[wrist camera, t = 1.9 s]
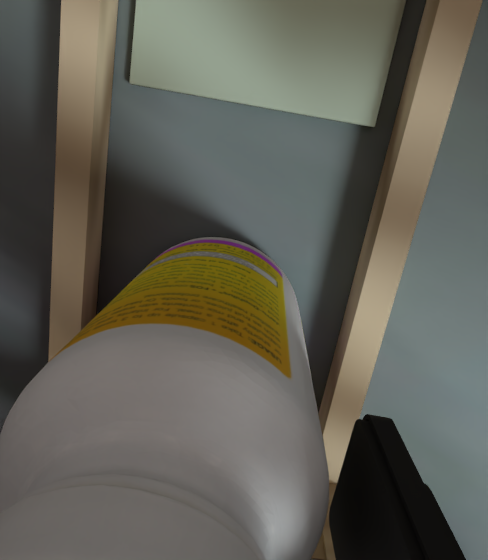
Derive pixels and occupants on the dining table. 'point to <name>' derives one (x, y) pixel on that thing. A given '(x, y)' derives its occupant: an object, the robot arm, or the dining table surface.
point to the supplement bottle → (172, 423)
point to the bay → (272, 95)
